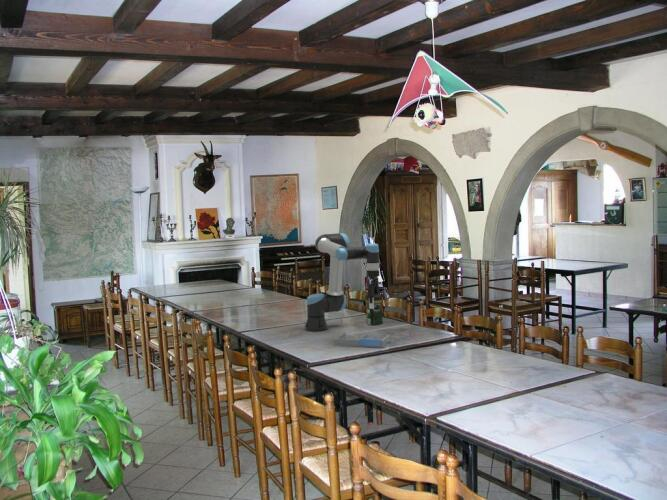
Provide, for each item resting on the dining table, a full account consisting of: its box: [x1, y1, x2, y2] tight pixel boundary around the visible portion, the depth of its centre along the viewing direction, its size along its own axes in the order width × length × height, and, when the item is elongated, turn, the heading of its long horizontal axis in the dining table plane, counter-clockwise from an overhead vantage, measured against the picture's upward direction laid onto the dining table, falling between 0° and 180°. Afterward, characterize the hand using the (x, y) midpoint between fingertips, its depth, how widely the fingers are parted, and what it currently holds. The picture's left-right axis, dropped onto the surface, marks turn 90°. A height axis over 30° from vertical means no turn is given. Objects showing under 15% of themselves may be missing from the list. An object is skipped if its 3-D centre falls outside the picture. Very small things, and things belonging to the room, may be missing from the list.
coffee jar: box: [365, 293, 384, 327], centre depth 388 cm, size 10×8×19 cm
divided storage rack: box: [333, 332, 391, 349], centre depth 389 cm, size 18×30×5 cm, turn 71°
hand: (374, 307), depth 388 cm, fingers closed on coffee jar, 10 cm apart
